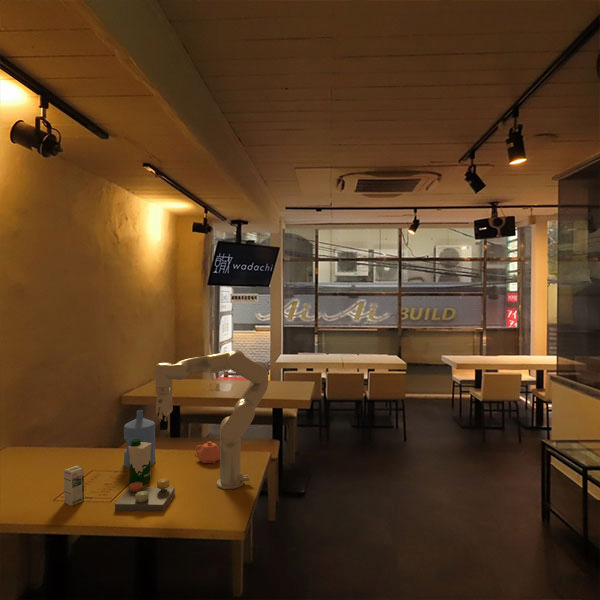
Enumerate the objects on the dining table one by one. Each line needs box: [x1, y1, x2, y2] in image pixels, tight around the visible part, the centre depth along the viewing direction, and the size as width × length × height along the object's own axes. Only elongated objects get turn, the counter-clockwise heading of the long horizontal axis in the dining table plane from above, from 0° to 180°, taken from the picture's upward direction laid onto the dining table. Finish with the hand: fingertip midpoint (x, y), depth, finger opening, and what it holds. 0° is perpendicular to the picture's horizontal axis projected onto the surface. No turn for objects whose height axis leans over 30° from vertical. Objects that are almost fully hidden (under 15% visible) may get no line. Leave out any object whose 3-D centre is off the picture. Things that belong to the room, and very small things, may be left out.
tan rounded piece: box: [156, 477, 170, 492], centre depth 194 cm, size 5×5×5 cm
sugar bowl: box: [194, 441, 220, 464], centre depth 237 cm, size 12×14×10 cm
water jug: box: [123, 409, 156, 469], centre depth 232 cm, size 16×16×28 cm
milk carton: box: [128, 439, 152, 487], centre depth 209 cm, size 9×9×20 cm
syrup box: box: [63, 465, 85, 507], centre depth 190 cm, size 6×6×14 cm
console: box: [114, 486, 176, 513], centre depth 190 cm, size 20×16×3 cm
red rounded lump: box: [129, 482, 144, 492], centre depth 194 cm, size 5×5×5 cm
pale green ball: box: [136, 491, 149, 502], centre depth 185 cm, size 5×5×5 cm
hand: (163, 429), depth 204 cm, fingers closed
